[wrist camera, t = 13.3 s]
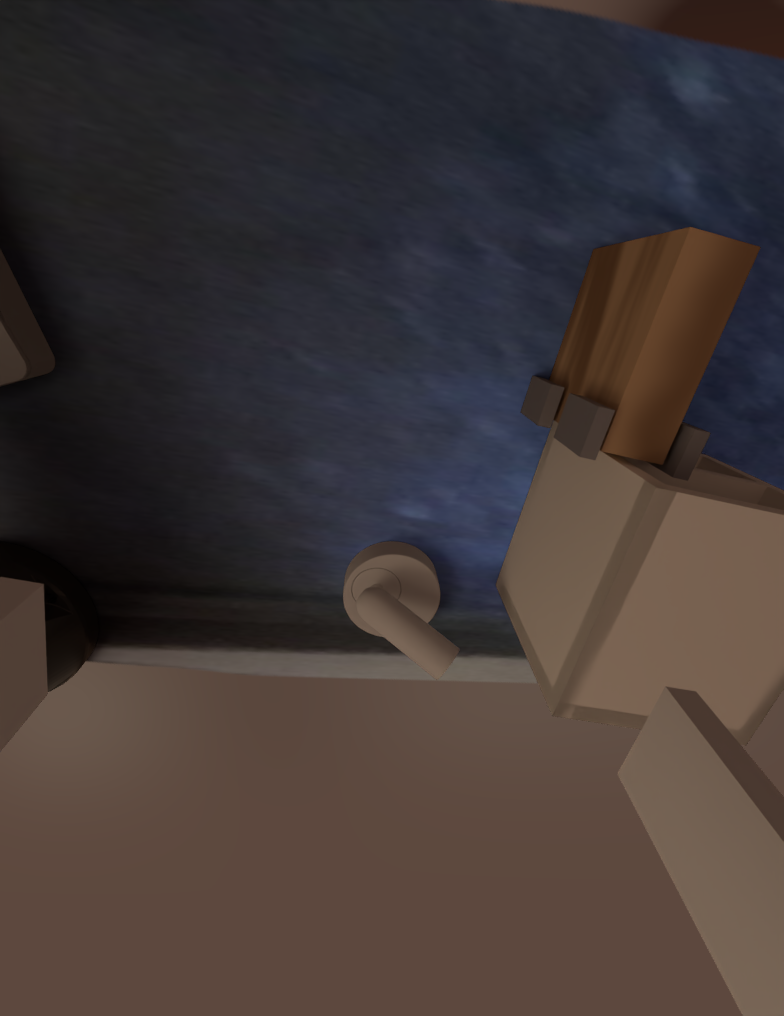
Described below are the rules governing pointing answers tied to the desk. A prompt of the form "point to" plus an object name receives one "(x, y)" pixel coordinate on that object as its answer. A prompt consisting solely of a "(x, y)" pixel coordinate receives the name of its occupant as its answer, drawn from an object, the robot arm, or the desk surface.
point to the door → (649, 332)
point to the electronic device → (19, 334)
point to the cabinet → (645, 575)
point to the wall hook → (398, 602)
